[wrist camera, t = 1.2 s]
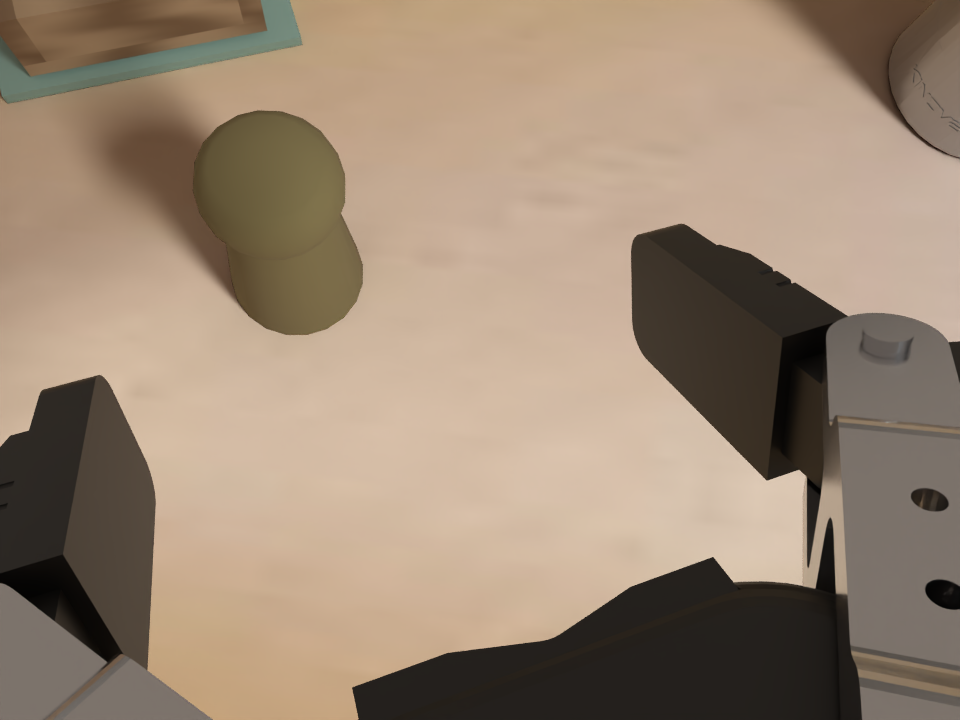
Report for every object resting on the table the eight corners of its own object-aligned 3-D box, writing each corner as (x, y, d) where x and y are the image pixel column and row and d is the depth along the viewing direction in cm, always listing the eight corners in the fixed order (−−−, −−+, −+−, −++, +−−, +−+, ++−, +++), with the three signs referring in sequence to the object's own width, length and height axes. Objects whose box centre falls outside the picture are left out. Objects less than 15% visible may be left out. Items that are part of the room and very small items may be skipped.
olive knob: (372, 224, 37) (369, 98, 27) (351, 344, 36) (339, 262, 25) (246, 203, 37) (190, 65, 26) (219, 324, 35) (149, 231, 25)
